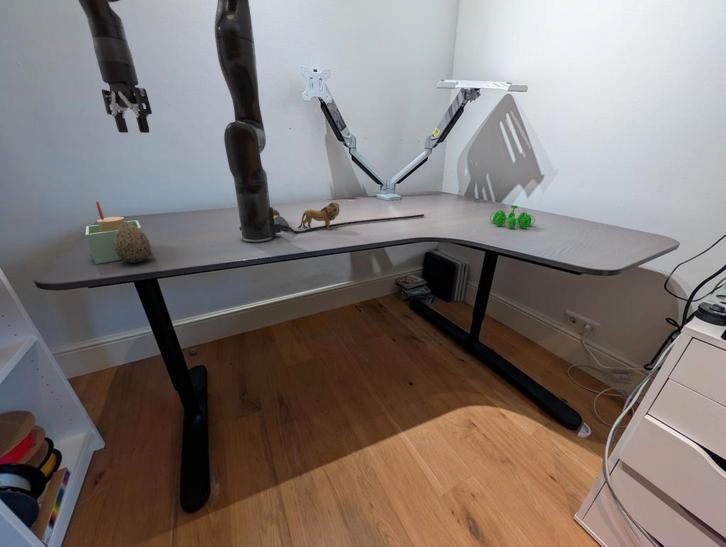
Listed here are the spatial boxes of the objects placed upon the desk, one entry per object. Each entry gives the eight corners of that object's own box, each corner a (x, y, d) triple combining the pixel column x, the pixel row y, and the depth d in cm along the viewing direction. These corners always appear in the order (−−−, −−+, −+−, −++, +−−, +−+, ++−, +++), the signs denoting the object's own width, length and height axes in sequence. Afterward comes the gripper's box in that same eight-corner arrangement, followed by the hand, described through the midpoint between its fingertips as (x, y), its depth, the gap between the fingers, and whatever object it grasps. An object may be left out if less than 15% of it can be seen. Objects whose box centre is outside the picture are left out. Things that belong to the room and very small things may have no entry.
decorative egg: (116, 269, 74) (103, 228, 70) (123, 259, 80) (111, 221, 76) (152, 264, 77) (141, 225, 73) (155, 255, 83) (145, 218, 79)
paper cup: (138, 250, 85) (123, 199, 80) (116, 256, 80) (99, 203, 75) (125, 247, 87) (109, 197, 82) (103, 253, 82) (85, 201, 77)
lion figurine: (338, 225, 113) (338, 200, 110) (341, 229, 108) (340, 203, 105) (297, 227, 110) (295, 202, 107) (298, 231, 105) (296, 204, 102)
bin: (144, 245, 91) (137, 220, 88) (148, 254, 83) (141, 227, 80) (95, 253, 84) (86, 226, 81) (95, 264, 77) (85, 234, 74)
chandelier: (488, 227, 112) (491, 208, 109) (490, 218, 125) (493, 201, 122) (535, 232, 107) (539, 211, 104) (531, 222, 120) (535, 204, 117)
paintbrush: (298, 230, 107) (297, 215, 105) (284, 232, 104) (283, 217, 102) (274, 219, 121) (273, 206, 119) (262, 221, 118) (260, 208, 116)
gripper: (81, 61, 78) (102, 132, 84) (119, 56, 73) (138, 132, 80) (113, 67, 84) (130, 133, 91) (149, 63, 80) (165, 133, 86)
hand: (134, 132), depth 85 cm, fingers open, 8 cm apart
